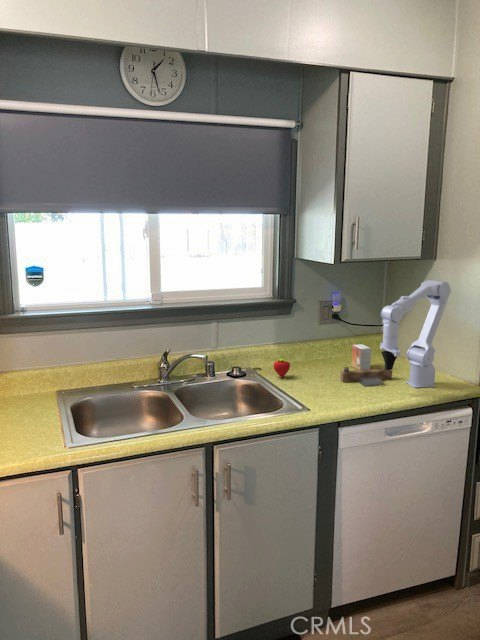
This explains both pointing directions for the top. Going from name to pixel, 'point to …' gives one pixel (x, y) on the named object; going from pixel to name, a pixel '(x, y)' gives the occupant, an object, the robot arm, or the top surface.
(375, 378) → the steel plate
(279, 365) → the strawberry
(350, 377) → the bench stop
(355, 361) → the small box
